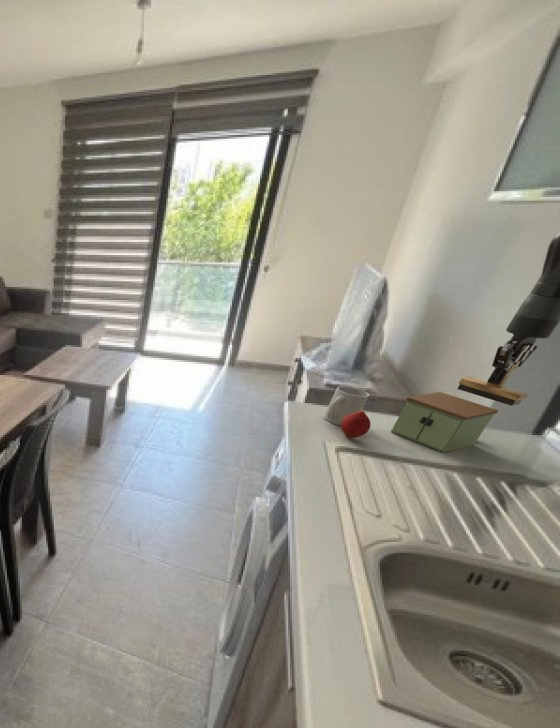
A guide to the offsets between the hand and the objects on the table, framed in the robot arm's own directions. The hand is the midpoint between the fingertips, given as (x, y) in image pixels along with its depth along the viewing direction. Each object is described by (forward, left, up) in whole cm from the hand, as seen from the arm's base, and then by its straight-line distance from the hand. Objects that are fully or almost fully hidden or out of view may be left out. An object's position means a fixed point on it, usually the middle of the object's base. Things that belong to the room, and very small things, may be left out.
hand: (495, 382), depth 123 cm
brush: (0, 0, -4) cm, 4 cm away
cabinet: (+1, +13, -15) cm, 20 cm away
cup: (+16, +29, -15) cm, 36 cm away
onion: (+8, +36, -15) cm, 40 cm away
